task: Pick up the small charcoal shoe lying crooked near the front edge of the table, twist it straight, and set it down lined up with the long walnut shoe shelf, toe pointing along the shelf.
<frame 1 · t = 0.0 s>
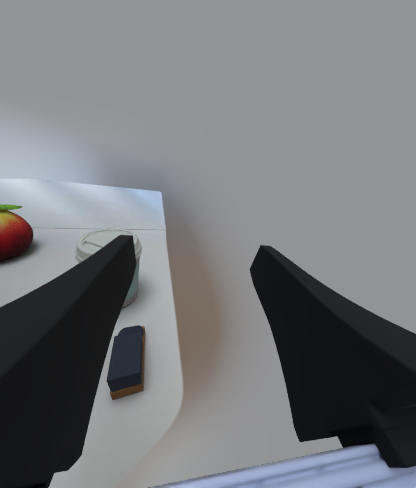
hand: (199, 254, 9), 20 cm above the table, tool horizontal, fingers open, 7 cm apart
shoe: (131, 361, 21), on the table
fruit: (4, 253, 34), on the table
coffee cup: (119, 296, 29), on the table
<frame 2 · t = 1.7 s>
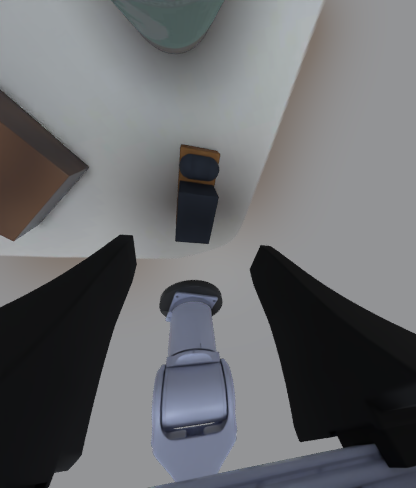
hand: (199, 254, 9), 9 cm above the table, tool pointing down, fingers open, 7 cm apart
shoe: (194, 187, 16), on the table
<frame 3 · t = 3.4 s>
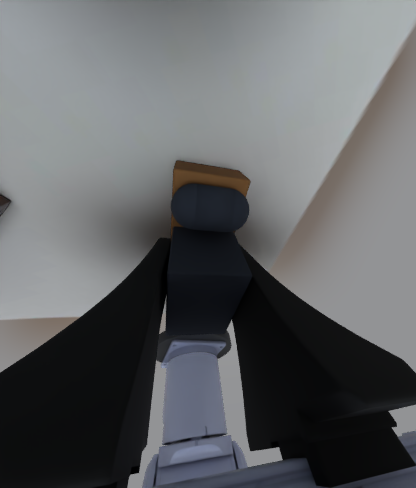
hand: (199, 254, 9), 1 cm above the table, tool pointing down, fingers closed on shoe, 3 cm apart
shoe: (199, 227, 10), on the table, touching gripper
when the fingers open (4 cm above the table, at t = 7.8 s): shoe stays where it is, resting on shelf.
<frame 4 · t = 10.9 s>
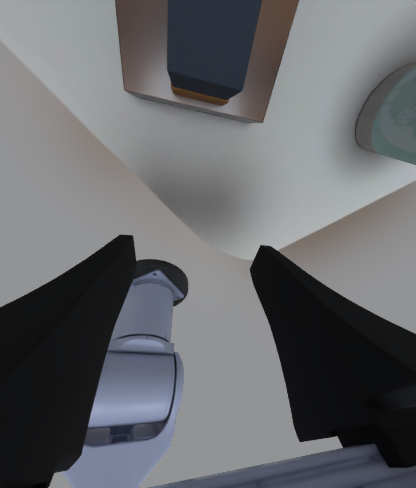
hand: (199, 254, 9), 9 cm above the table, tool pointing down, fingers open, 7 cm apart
shoe: (207, 8, 8), point 3 cm above the table, touching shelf
coffee cup: (387, 112, 14), on the table
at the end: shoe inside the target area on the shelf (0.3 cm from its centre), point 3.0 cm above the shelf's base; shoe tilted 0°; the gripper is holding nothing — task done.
